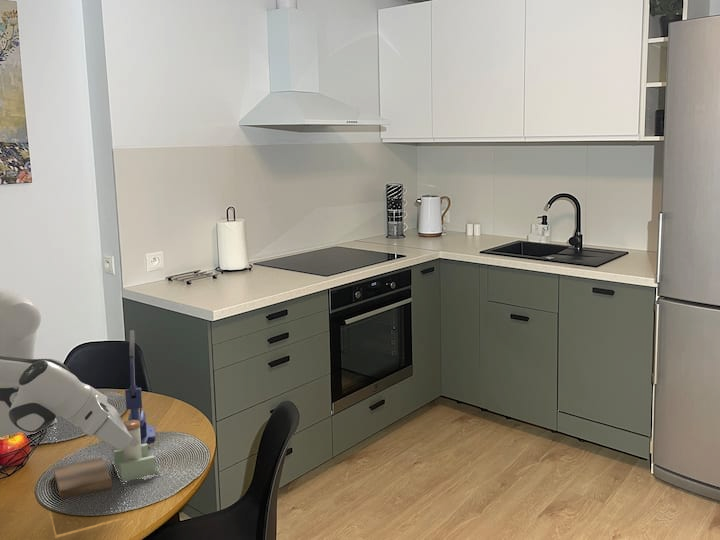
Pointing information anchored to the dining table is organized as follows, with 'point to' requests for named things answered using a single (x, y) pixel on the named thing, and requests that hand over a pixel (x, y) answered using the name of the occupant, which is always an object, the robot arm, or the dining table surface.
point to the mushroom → (129, 450)
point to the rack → (135, 465)
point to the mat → (138, 480)
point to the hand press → (137, 401)
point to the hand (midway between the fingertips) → (134, 438)
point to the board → (82, 478)
